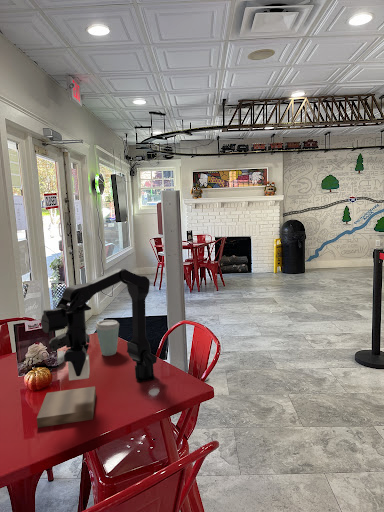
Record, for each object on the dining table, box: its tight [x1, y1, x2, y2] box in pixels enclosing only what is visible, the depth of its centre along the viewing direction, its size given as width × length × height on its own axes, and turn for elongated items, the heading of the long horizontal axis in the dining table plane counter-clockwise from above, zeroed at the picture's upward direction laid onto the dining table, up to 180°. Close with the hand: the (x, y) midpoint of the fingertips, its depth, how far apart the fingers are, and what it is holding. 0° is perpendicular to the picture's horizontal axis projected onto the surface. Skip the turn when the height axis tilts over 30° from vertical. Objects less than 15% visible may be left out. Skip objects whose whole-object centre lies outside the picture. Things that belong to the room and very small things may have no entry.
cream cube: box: [67, 353, 91, 381], centre depth 117 cm, size 6×6×6 cm
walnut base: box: [36, 386, 97, 428], centre depth 116 cm, size 16×16×3 cm
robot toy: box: [57, 349, 66, 366], centre depth 153 cm, size 12×4×15 cm
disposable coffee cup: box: [95, 319, 120, 357], centre depth 163 cm, size 11×11×15 cm
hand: (79, 372), depth 117 cm, fingers closed on cream cube, 6 cm apart
